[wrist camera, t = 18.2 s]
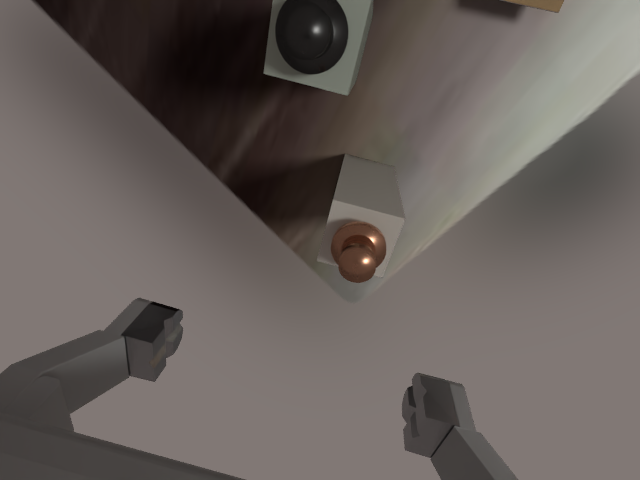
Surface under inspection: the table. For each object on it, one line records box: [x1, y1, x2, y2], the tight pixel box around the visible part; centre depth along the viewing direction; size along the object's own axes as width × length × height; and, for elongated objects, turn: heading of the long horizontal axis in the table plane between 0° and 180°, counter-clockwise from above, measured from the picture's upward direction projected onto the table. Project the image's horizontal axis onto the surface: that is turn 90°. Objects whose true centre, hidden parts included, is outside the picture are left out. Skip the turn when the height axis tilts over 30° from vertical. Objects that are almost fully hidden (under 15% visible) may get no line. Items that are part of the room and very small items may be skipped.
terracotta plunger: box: [331, 221, 386, 283], centre depth 37 cm, size 5×5×18 cm
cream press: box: [317, 154, 405, 278], centre depth 41 cm, size 7×7×17 cm
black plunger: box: [275, 0, 349, 75], centre depth 29 cm, size 5×5×18 cm
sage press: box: [264, 0, 373, 96], centre depth 33 cm, size 7×7×17 cm
